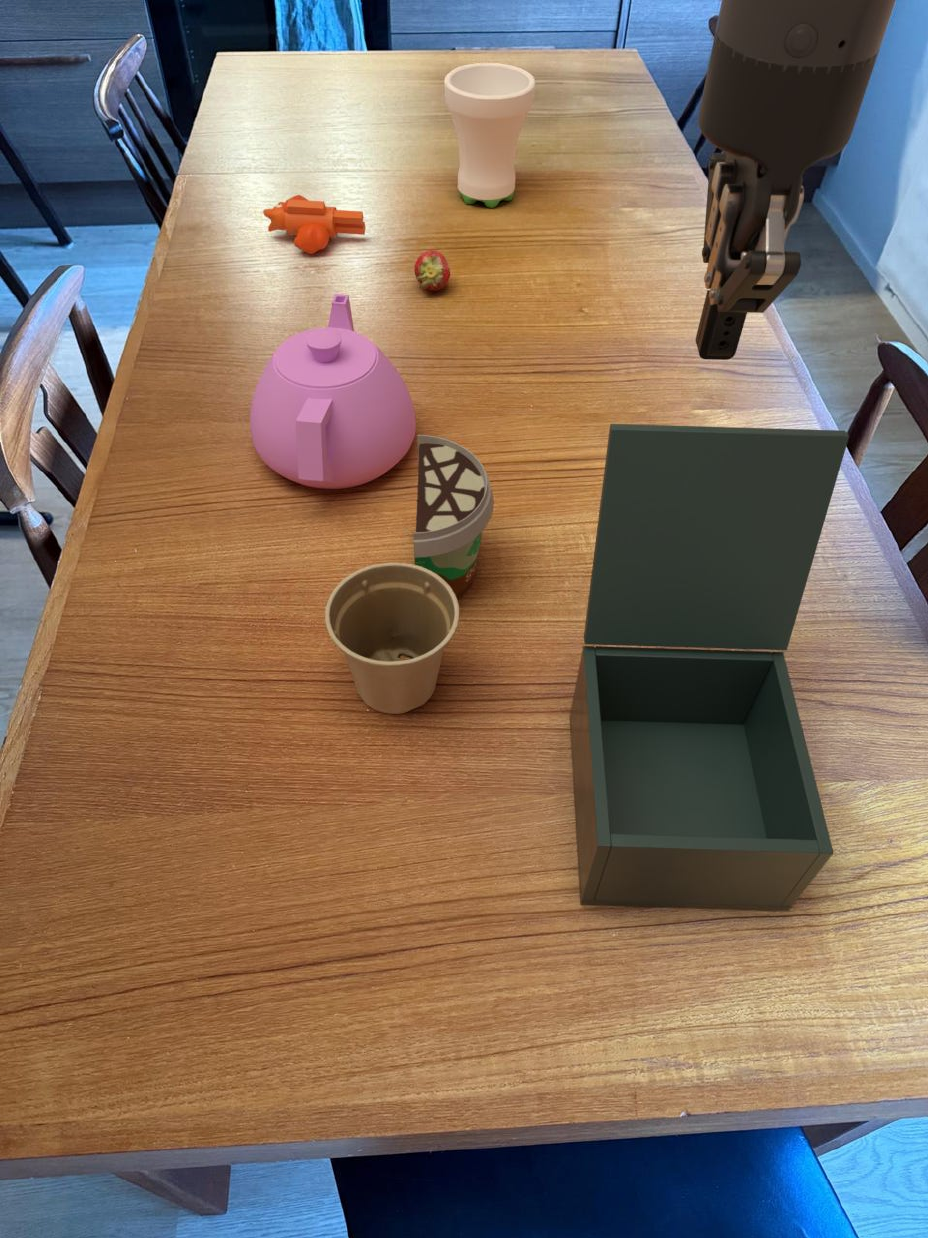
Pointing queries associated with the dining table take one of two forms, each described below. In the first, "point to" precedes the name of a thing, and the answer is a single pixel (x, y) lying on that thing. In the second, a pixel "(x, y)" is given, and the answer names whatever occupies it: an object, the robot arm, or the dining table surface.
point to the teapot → (331, 407)
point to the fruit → (432, 270)
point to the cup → (488, 126)
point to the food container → (450, 511)
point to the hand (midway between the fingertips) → (713, 351)
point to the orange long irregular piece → (313, 222)
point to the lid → (708, 534)
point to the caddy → (692, 781)
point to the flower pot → (393, 632)
